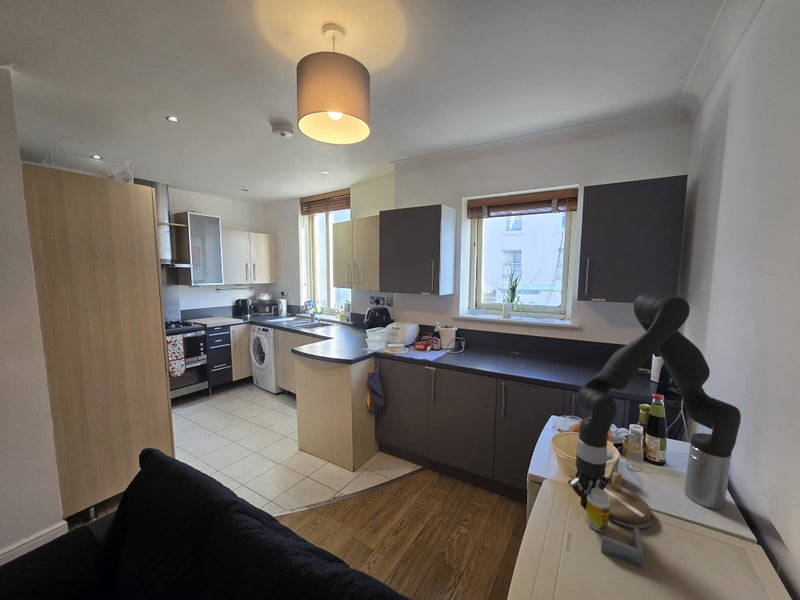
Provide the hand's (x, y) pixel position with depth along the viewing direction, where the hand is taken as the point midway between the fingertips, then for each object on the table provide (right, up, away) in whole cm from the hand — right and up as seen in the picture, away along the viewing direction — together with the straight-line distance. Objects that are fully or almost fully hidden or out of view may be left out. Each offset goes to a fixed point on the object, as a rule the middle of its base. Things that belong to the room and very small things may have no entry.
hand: (586, 507), depth 95 cm
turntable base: (+12, -2, +2) cm, 12 cm away
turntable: (+12, 0, +2) cm, 12 cm away
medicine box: (+16, 0, +18) cm, 24 cm away
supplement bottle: (+1, -3, -3) cm, 4 cm away
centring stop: (+4, -4, -14) cm, 15 cm away
